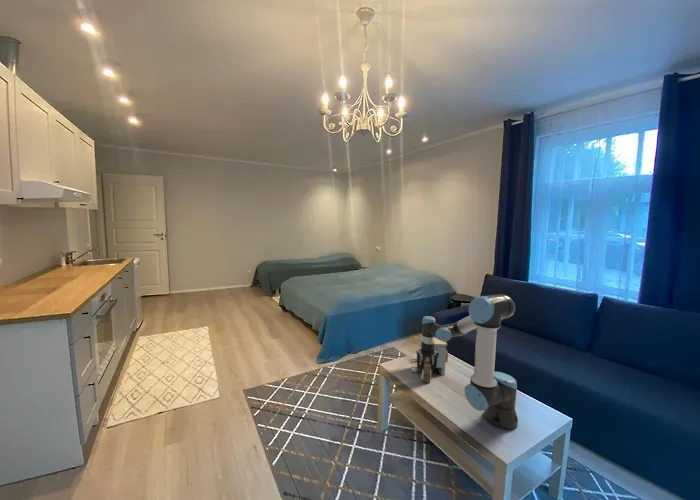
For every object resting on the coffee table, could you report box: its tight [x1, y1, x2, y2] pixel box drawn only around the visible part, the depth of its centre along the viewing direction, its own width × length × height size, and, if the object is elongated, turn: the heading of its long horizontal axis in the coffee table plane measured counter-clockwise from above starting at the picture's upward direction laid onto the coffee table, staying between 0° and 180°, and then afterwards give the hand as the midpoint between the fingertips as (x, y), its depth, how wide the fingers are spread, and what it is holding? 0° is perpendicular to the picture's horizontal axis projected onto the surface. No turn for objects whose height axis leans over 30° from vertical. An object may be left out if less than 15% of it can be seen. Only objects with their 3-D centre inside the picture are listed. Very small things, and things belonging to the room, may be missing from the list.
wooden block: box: [418, 361, 431, 384], centre depth 187 cm, size 17×4×12 cm, turn 0°
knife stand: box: [417, 348, 449, 363], centre depth 209 cm, size 4×20×7 cm, turn 90°
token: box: [410, 366, 420, 374], centre depth 194 cm, size 5×5×2 cm
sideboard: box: [420, 335, 448, 376], centre depth 193 cm, size 13×14×21 cm
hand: (426, 378), depth 181 cm, fingers closed on wooden block, 4 cm apart
